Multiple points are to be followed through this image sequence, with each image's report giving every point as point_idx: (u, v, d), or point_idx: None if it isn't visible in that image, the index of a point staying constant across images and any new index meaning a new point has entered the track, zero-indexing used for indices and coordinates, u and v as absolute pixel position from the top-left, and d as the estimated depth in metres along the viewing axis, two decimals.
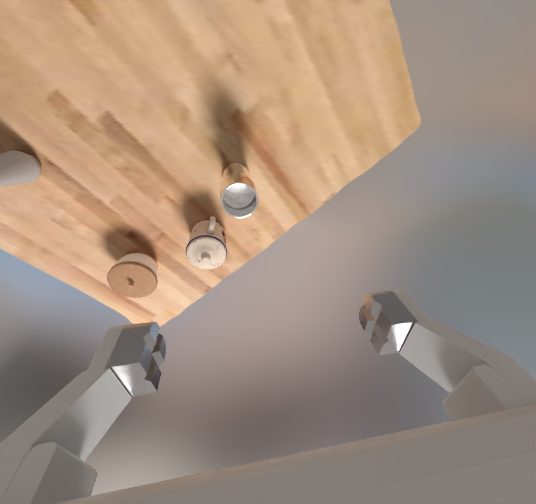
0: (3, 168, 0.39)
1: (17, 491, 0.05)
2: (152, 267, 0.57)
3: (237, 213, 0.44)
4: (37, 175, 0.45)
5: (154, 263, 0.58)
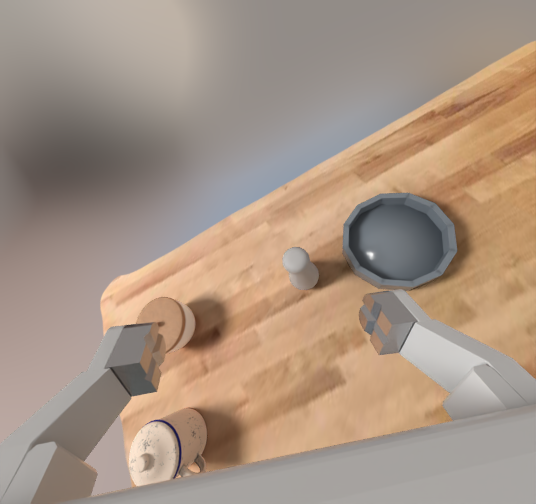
0: (304, 276, 0.40)
1: (17, 491, 0.05)
2: (166, 353, 0.44)
3: None
4: (294, 285, 0.45)
5: (173, 351, 0.46)
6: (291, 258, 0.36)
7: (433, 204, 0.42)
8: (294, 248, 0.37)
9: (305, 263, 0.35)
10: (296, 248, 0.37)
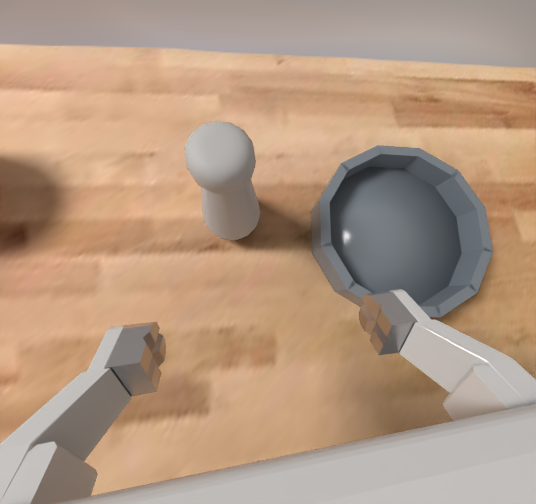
0: (226, 209, 0.18)
1: (17, 491, 0.05)
2: None
3: None
4: (204, 221, 0.23)
5: None
6: (210, 142, 0.13)
7: (481, 207, 0.25)
8: (230, 125, 0.14)
9: (237, 171, 0.14)
10: (235, 127, 0.14)
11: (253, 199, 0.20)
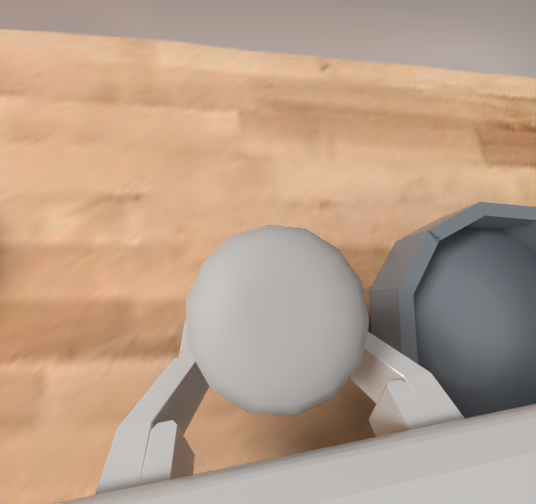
0: None
1: (155, 464, 0.05)
2: None
3: None
4: None
5: None
6: (261, 305, 0.05)
7: None
8: (312, 244, 0.05)
9: (333, 388, 0.05)
10: (324, 251, 0.05)
11: None
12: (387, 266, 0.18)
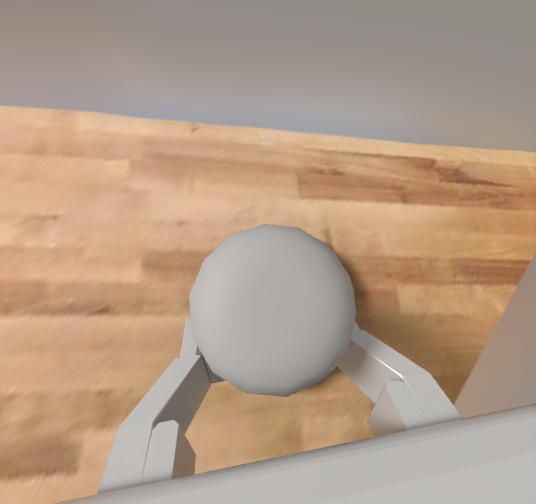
0: None
1: (156, 463, 0.05)
2: None
3: None
4: None
5: None
6: (257, 296, 0.05)
7: None
8: (304, 241, 0.06)
9: (322, 371, 0.05)
10: (315, 248, 0.06)
11: None
12: None
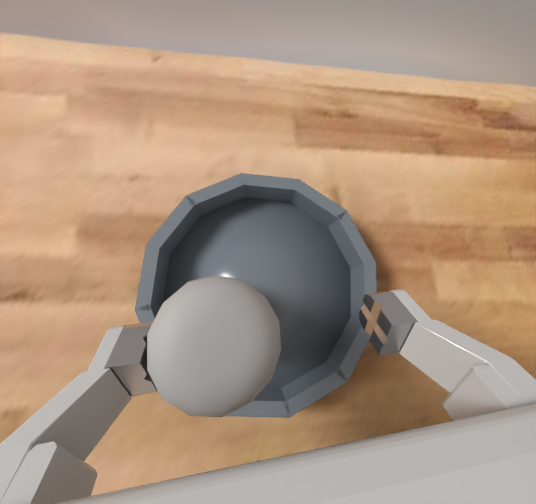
0: None
1: (17, 491, 0.05)
2: None
3: None
4: None
5: None
6: (204, 339, 0.07)
7: (371, 262, 0.19)
8: (246, 294, 0.07)
9: (250, 396, 0.07)
10: (254, 300, 0.07)
11: None
12: None
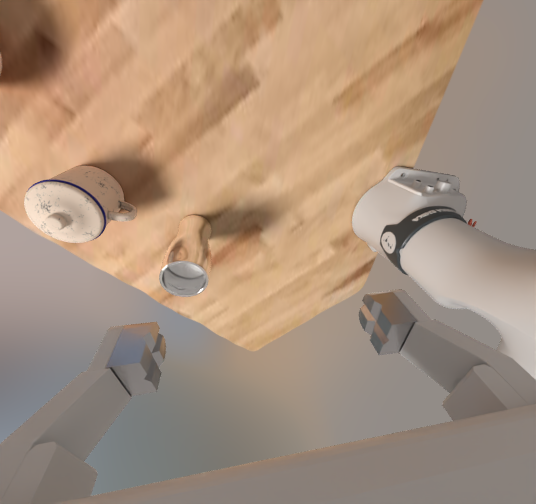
0: None
1: (17, 491, 0.05)
2: None
3: None
4: None
5: None
6: None
7: None
8: None
9: None
10: None
11: None
12: None
